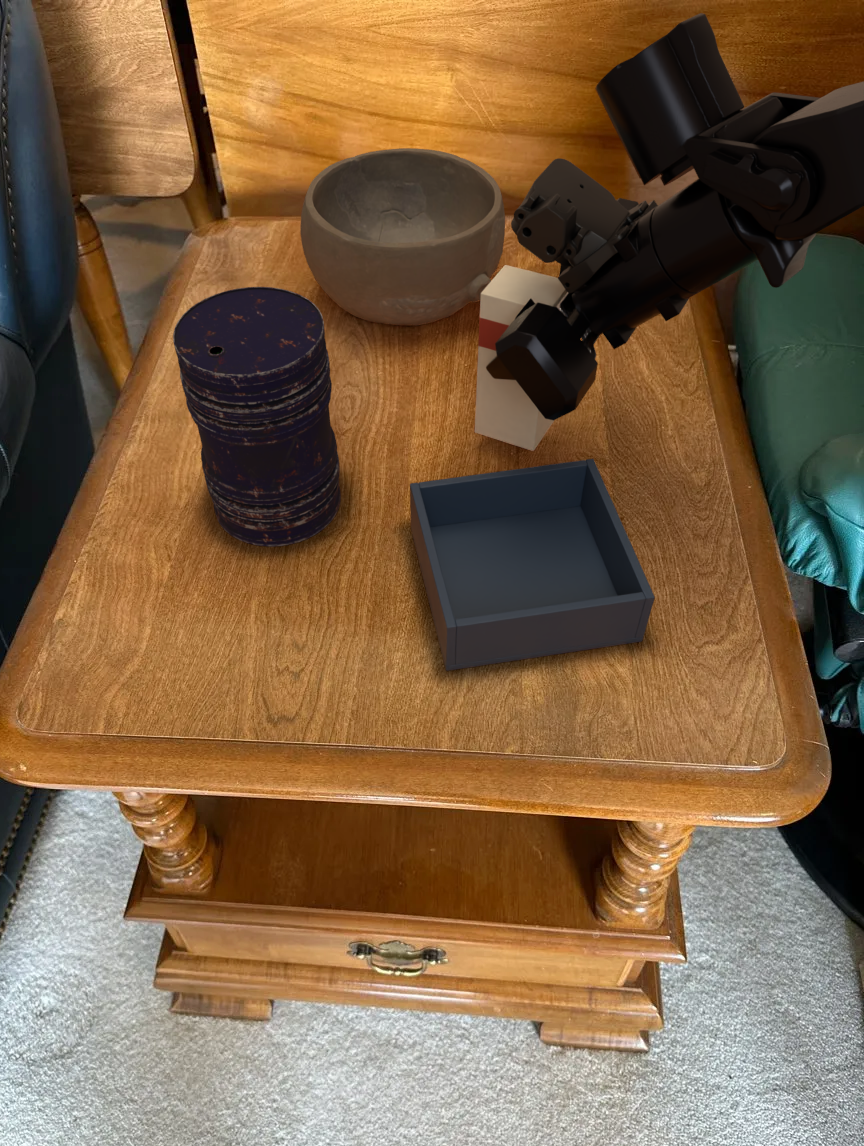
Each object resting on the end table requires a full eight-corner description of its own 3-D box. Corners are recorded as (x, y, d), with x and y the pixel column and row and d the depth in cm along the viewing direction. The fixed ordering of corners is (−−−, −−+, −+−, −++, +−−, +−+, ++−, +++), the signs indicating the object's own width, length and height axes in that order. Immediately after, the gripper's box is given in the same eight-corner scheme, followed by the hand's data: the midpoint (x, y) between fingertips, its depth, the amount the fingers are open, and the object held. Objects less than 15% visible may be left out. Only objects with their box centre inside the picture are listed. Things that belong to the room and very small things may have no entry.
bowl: (530, 325, 85) (540, 217, 77) (341, 371, 82) (332, 263, 74) (457, 232, 96) (459, 128, 88) (286, 270, 92) (273, 166, 84)
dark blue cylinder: (277, 440, 77) (249, 269, 65) (369, 492, 73) (358, 319, 61) (185, 508, 72) (138, 338, 61) (278, 568, 68) (247, 397, 56)
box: (585, 504, 71) (593, 458, 67) (642, 641, 63) (655, 597, 59) (410, 528, 70) (409, 483, 67) (445, 671, 62) (446, 627, 58)
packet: (554, 421, 75) (572, 281, 65) (533, 451, 72) (549, 311, 63) (495, 403, 76) (505, 263, 67) (473, 432, 74) (480, 293, 65)
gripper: (658, 71, 60) (490, 205, 72) (539, 207, 50) (368, 335, 63) (750, 219, 64) (575, 323, 76) (656, 372, 54) (473, 463, 66)
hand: (503, 355), depth 70 cm, fingers closed on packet, 4 cm apart
